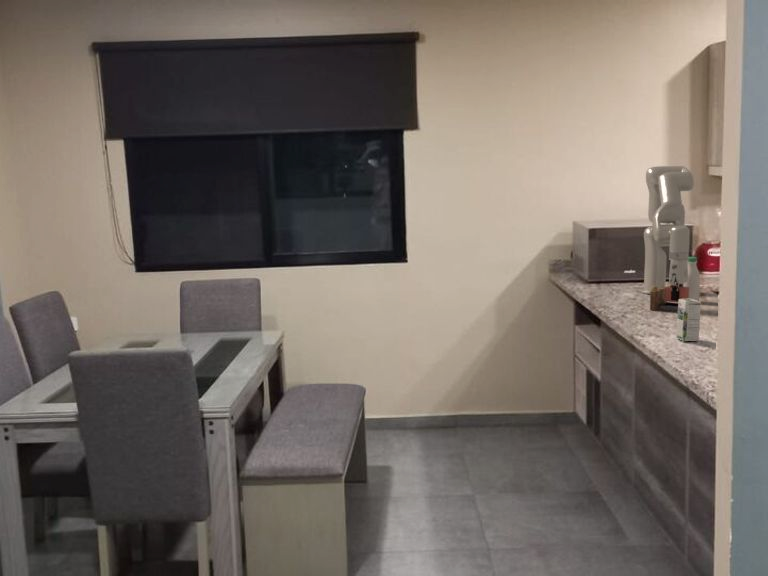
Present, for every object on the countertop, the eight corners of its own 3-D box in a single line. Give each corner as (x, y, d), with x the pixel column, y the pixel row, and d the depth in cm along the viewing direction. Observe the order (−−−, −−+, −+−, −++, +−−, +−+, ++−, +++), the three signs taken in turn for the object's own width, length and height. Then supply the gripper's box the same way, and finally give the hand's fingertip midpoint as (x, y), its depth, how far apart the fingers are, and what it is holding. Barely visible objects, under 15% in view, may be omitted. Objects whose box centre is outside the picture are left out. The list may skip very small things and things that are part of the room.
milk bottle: (700, 304, 328) (702, 258, 324) (681, 303, 329) (683, 258, 326) (696, 300, 335) (699, 256, 332) (678, 300, 337) (680, 256, 333)
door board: (661, 304, 328) (662, 282, 327) (667, 305, 327) (668, 282, 325) (649, 310, 317) (650, 286, 315) (655, 311, 315) (656, 287, 314)
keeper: (665, 306, 324) (665, 301, 324) (694, 309, 317) (694, 304, 317) (658, 309, 318) (658, 305, 317) (687, 313, 310) (687, 308, 310)
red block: (685, 303, 312) (685, 287, 311) (665, 301, 317) (666, 285, 316) (688, 301, 316) (689, 285, 315) (669, 299, 321) (669, 284, 320)
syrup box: (675, 339, 267) (677, 298, 265) (691, 338, 268) (693, 298, 265) (683, 342, 262) (685, 301, 259) (699, 342, 262) (701, 301, 260)
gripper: (681, 259, 305) (679, 303, 308) (694, 254, 318) (692, 297, 321) (662, 257, 309) (661, 301, 312) (676, 253, 322) (674, 295, 325)
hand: (676, 299), depth 316 cm, fingers closed on red block, 4 cm apart
